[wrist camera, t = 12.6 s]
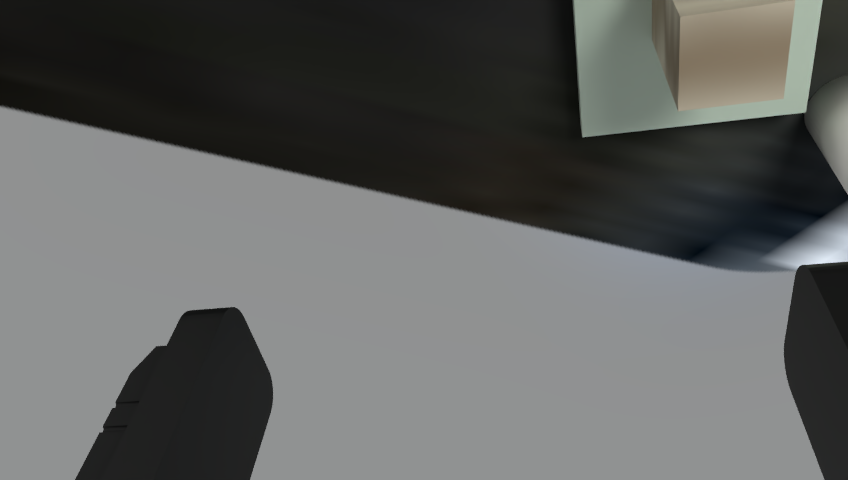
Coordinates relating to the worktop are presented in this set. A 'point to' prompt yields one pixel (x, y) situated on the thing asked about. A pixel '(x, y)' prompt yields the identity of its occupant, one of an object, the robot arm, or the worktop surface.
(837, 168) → the ceramic jar
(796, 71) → the cutting board
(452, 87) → the worktop surface
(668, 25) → the ash block
